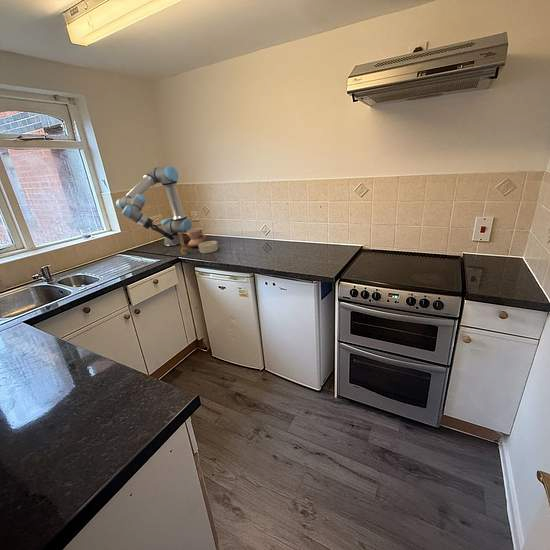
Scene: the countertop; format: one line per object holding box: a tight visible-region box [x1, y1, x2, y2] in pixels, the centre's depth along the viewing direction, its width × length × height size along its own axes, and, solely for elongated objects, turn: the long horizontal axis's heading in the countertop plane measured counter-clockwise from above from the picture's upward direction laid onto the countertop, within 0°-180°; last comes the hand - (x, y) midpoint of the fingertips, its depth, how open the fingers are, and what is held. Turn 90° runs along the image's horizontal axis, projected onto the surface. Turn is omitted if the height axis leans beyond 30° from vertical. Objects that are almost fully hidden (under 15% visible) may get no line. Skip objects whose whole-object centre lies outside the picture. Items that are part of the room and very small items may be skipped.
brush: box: [178, 233, 189, 255], centre depth 229 cm, size 5×5×16 cm
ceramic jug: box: [186, 227, 207, 249], centre depth 246 cm, size 18×14×14 cm
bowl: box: [197, 240, 219, 255], centre depth 231 cm, size 15×15×6 cm
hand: (171, 237), depth 224 cm, fingers open, 13 cm apart
